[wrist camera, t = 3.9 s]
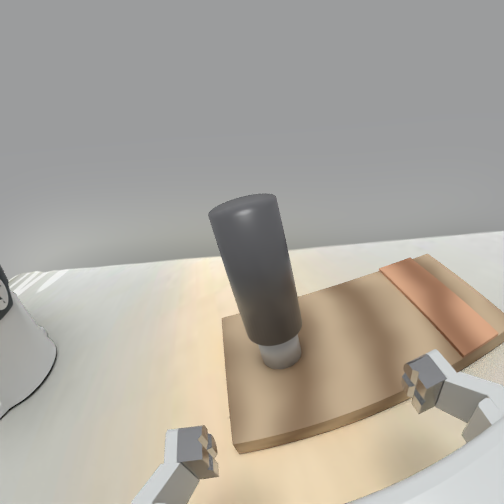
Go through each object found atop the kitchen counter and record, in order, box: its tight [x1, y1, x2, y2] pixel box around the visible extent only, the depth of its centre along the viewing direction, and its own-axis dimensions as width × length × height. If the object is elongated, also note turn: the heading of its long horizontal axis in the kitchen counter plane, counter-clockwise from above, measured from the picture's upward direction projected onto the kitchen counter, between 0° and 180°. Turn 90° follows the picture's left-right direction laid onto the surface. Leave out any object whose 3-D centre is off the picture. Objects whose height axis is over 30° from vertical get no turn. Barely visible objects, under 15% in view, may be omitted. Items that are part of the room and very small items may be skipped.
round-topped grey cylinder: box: [208, 194, 302, 369], centre depth 19 cm, size 4×4×12 cm
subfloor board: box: [222, 254, 504, 454], centre depth 22 cm, size 23×14×2 cm, turn 97°
